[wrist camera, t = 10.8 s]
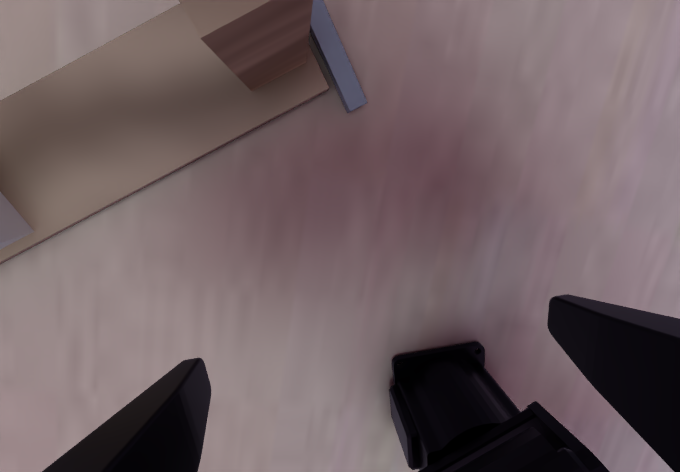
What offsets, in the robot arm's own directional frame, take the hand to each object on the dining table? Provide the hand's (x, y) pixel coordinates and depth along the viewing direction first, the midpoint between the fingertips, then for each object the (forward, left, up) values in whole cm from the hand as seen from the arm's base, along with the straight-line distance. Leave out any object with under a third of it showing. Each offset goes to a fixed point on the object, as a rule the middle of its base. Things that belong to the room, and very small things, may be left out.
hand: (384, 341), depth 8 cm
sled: (+11, -6, -12) cm, 17 cm away
